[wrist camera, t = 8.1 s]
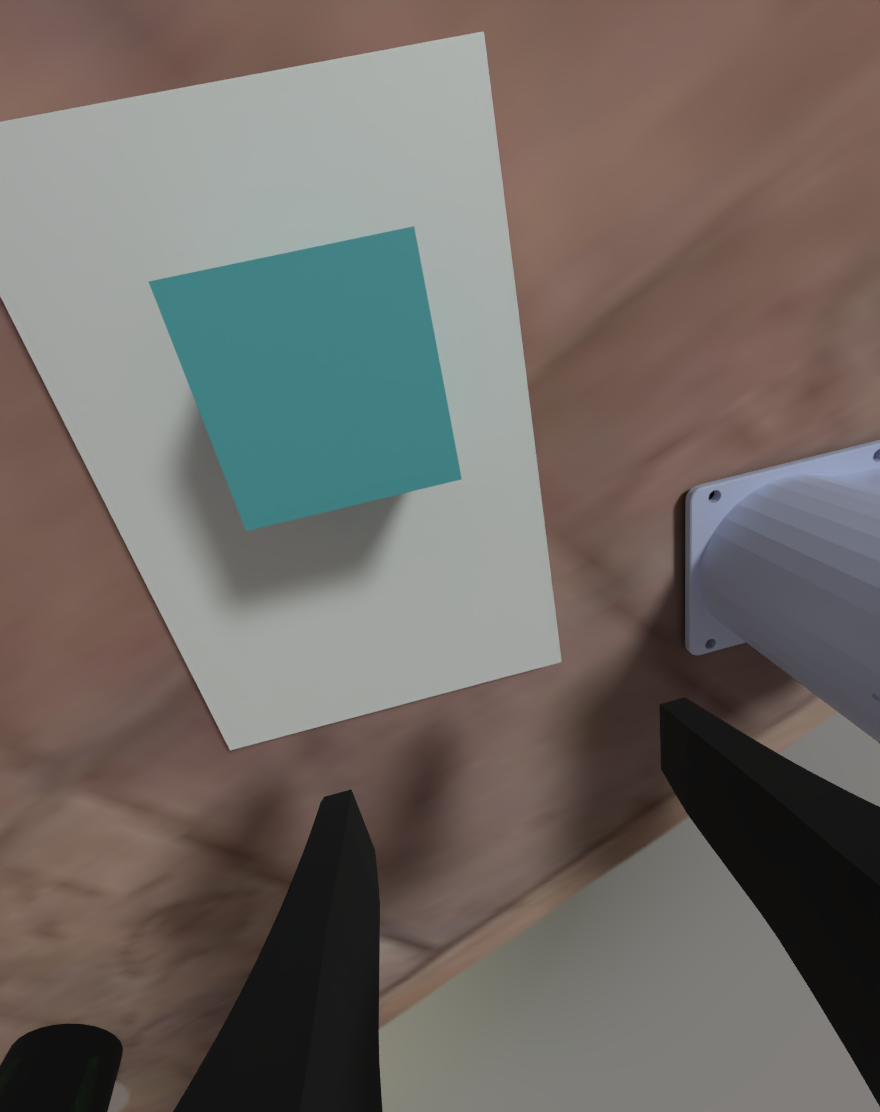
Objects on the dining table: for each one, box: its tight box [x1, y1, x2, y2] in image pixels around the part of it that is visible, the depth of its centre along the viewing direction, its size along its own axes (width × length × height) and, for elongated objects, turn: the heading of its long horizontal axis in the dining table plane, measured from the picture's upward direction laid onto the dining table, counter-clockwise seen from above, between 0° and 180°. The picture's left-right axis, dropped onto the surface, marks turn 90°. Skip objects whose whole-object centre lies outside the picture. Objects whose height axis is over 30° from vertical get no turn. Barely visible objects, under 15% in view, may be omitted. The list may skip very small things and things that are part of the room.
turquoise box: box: [149, 226, 462, 531], centre depth 13 cm, size 5×5×6 cm
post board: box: [0, 31, 561, 750], centre depth 15 cm, size 14×20×5 cm
